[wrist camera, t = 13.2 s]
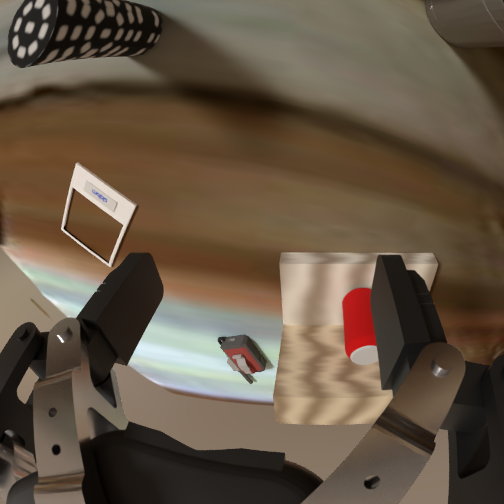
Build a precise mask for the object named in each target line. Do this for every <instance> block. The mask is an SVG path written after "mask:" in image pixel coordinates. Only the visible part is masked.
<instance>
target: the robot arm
mask: <svg viewBox="0 0 504 504" xmlns="http://www.w3.org/2000/svg"><path fill="white" fill-rule="evenodd" d="M426 12H427V16H428V18H429V21H430V23H431V24H432V26H433V27H434V29H435V30H436V31H437V33H438V34H439V35H440V36H441V37H442V38H444V39H445V40H446V41H448V42H449V43H451V44H453V45H455V46H458V47H461V48H471V47H504V0H426ZM163 291H164V290H163V284H162V281H161V278H160V276H159V273H158V270H157V268H156V265H155V262H154V260H153V257H152V255H151V254H150V253H130V254H129V255H128V256H127V257H126V258H125V259H124V261H123V262H122V263H121V264H120V266H118V267H117V268H116V269H115V270H113V271H112V272H111V273H110V274H109V275H108V276H107V277H106V279H105V280H104V281H103V284H101V285H100V286H99V288H98V289H97V292H95V293H94V294H93V296H92V297H91V298H90V300H89V301H88V302H87V304H86V305H85V306H84V308H83V309H82V311H81V312H80V313H79V315H78V316H77V317H76V319H75V318H66V319H63V320H61V321H59V322H58V323H57V324H56V325H55V326H54V327H53V328H52V329H51V331H50V332H42V333H40V331H39V330H38V329H37V327H36V326H35V324H33V323H31V322H27V323H24V324H23V325H21V326H20V327H18V328H17V330H16V331H15V332H14V333H13V335H12V336H11V338H10V339H9V341H8V343H7V344H6V346H5V347H4V349H3V350H2V352H1V353H0V498H1V499H2V500H3V501H4V502H6V504H399V502H400V501H401V500H402V498H403V497H404V496H405V494H406V493H407V492H408V490H409V489H410V487H411V486H412V485H413V483H414V482H415V480H416V479H417V477H418V476H419V474H420V473H421V471H422V470H423V468H424V467H425V465H426V463H427V462H428V460H429V459H430V457H431V455H432V453H433V451H434V448H435V444H436V443H435V442H434V439H435V437H436V435H437V433H438V431H439V429H444V430H448V439H449V496H448V504H504V355H501V356H499V357H497V358H496V359H495V360H494V361H493V363H492V364H491V365H490V366H488V365H482V364H477V363H472V362H468V361H465V360H464V357H463V355H462V354H461V352H460V351H459V350H458V349H457V348H456V347H454V346H453V345H451V344H448V343H447V340H446V337H445V334H444V331H443V328H442V325H441V322H440V319H439V317H438V314H437V311H436V308H435V306H434V305H433V300H432V298H431V295H429V290H428V288H427V285H426V283H425V280H424V279H423V278H422V277H421V276H420V275H419V274H418V273H417V272H416V271H415V270H407V269H406V266H405V264H404V261H403V259H402V256H401V255H378V257H377V261H376V267H375V272H374V278H373V283H372V288H371V295H370V305H371V312H372V318H373V325H374V331H375V338H376V345H377V352H378V360H379V369H380V379H381V389H382V390H392V393H393V398H392V400H391V401H390V403H389V404H388V406H387V407H386V409H385V410H384V411H383V413H382V414H381V415H380V416H379V418H378V419H377V420H376V422H375V423H374V424H373V426H372V427H371V429H370V430H369V431H368V432H367V434H366V435H365V436H364V437H363V439H362V440H361V441H360V442H359V443H358V445H357V446H356V447H355V448H354V449H353V451H352V452H351V453H350V454H349V455H348V456H347V457H346V459H345V460H344V461H343V462H342V463H341V464H340V465H339V467H337V469H336V470H335V471H334V472H333V473H332V474H331V475H330V476H329V477H328V478H327V479H326V480H325V481H323V480H322V479H321V478H320V477H318V476H317V475H316V474H314V473H313V472H312V471H309V470H308V469H306V468H305V467H302V466H300V465H297V464H296V463H293V462H290V461H286V460H285V453H280V452H268V451H259V450H250V449H242V448H240V449H225V450H195V449H192V448H190V447H188V446H186V445H184V444H183V443H181V442H179V441H177V440H175V439H173V438H171V437H170V436H168V435H166V434H165V433H163V432H161V431H158V430H154V429H151V428H148V427H144V426H141V425H138V424H135V423H132V422H129V421H128V419H127V418H126V416H125V414H124V410H123V406H122V402H121V398H120V393H119V388H118V384H117V378H116V374H115V371H114V369H113V368H112V367H113V365H114V363H118V364H122V365H126V366H127V364H128V362H129V360H130V358H131V356H132V354H133V353H134V351H135V349H136V347H137V345H138V343H139V341H140V339H141V337H142V335H143V333H144V332H145V330H146V328H147V326H148V324H149V322H150V320H151V319H152V317H153V315H154V313H155V311H156V309H157V308H158V306H159V304H160V302H161V300H162V298H163ZM28 367H30V368H31V369H32V370H33V371H34V372H35V374H36V375H37V376H38V377H39V379H38V381H37V382H36V383H35V385H34V389H33V391H32V393H31V395H30V396H29V399H28V401H27V403H26V404H24V403H23V402H21V401H20V400H19V399H18V396H17V388H18V386H19V384H20V382H21V380H22V378H23V376H24V374H25V373H26V371H27V369H28ZM6 430H7V432H5V431H6ZM36 463H37V464H36Z"/></svg>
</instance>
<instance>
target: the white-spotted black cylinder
mask: <svg viewBox="0 0 504 504" xmlns="http://www.w3.org/2000/svg"><path fill="white" fill-rule="evenodd" d="M161 31H162V19H161V16H160V14H159V13H158V12H157V11H156V10H155V9H153V8H151V7H148V6H144V5H141V4H137V3H134V2H130V1H126V0H25V1H24V2H23V3H22V4H21V6H20V7H19V9H18V10H17V12H16V14H15V16H14V18H13V21H12V23H11V26H10V30H9V35H8V53H9V57H10V60H11V62H12V63H13V64H14V65H15V66H16V67H19V68H25V67H30V66H35V65H40V64H46V63H52V62H59V61H66V60H75V59H85V58H98V57H121V56H138V55H141V54H144V53H145V52H147V51H148V50H150V49H151V48H152V47H153V46H154V45H155V44H156V42H157V41H158V39H159V37H160V35H161Z"/></svg>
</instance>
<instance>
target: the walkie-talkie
mask: <svg viewBox="0 0 504 504" xmlns="http://www.w3.org/2000/svg"><path fill="white" fill-rule="evenodd" d="M221 340H222V342H221ZM218 342H219V344H220V345H221V347H220V348H221V349H222V350H223V351H224V352H225V353H226V355H227V357H228V360H227V363H228V364H229V365H230V366H231V368H232V369H233V370H234V371H238V372H240V373H241V374H242V375H243V377H244V378H245V379H246V380H247V381H248V382H249V383H250V384H252V383H253V381H252V380H251V379H250V378H249V376H248V375H247V374H253V373H255V372H262V371H264V370H265V366H266V360H265V359H264V357H263V356H262V355H261V353H260V352H259V351H258V350H257V348H256V347H255V346H254V344H253V343H252V342H251V340H250V339H249V337H248V336H246V335H238V336H231V337H224V338H223V337H219V338H218Z"/></svg>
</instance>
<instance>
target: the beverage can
mask: <svg viewBox="0 0 504 504" xmlns="http://www.w3.org/2000/svg"><path fill="white" fill-rule="evenodd" d="M370 295H371V288H368V287H358V288H355V289H352V290H351V291H349V292H348V293H347V294H346V295H345V297H344V298H343V301H342V310H343V324H344V342H345V352H346V355H347V356H348V358H349V359H350V360H351V361H352V362H353V363H355V364H358V365H368V364H372V363H374V362H376V361H378V352H377V345H376V338H375V331H374V325H373V318H372V312H371V305H370Z"/></svg>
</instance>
